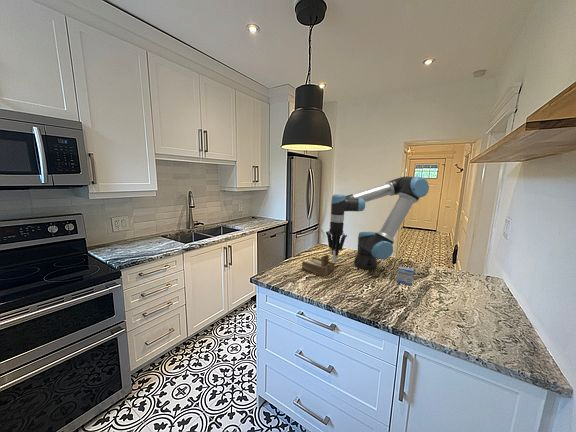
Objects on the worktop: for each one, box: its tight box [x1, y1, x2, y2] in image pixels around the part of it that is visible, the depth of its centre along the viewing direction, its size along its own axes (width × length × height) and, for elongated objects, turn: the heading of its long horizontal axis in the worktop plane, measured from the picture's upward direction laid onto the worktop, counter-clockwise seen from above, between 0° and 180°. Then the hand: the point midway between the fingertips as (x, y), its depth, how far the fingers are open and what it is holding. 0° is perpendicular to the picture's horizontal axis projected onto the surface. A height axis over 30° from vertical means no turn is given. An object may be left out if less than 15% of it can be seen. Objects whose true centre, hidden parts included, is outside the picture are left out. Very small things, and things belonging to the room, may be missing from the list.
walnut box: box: [301, 256, 335, 278], centre depth 154 cm, size 12×16×6 cm
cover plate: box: [307, 254, 330, 267], centre depth 153 cm, size 9×13×7 cm
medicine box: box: [396, 265, 415, 286], centre depth 139 cm, size 8×4×9 cm, turn 62°
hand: (334, 260), depth 145 cm, fingers closed
